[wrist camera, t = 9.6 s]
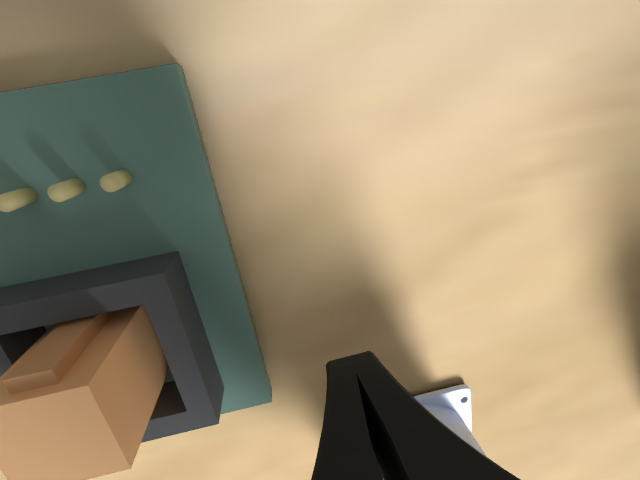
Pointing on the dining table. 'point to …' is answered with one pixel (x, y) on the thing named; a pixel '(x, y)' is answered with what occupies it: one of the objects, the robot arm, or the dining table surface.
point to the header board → (125, 235)
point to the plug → (81, 397)
